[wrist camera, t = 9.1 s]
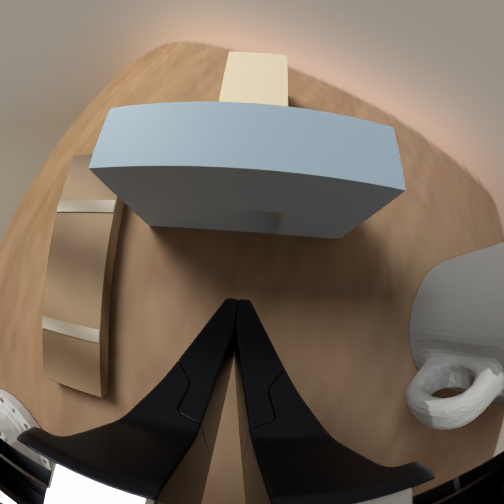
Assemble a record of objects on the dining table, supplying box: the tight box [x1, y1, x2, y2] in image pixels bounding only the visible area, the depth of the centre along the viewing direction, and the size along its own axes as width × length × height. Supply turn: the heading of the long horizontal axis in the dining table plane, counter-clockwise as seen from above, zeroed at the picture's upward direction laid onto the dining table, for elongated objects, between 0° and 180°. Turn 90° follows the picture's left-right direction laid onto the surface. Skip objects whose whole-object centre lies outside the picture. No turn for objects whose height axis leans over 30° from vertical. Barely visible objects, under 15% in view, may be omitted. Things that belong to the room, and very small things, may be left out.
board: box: [42, 154, 124, 397], centre depth 15 cm, size 16×5×1 cm, turn 176°
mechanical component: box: [0, 390, 53, 470], centre depth 10 cm, size 10×4×10 cm
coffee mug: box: [406, 242, 504, 430], centre depth 11 cm, size 13×10×10 cm
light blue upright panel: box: [89, 52, 406, 239], centre depth 14 cm, size 12×12×8 cm
